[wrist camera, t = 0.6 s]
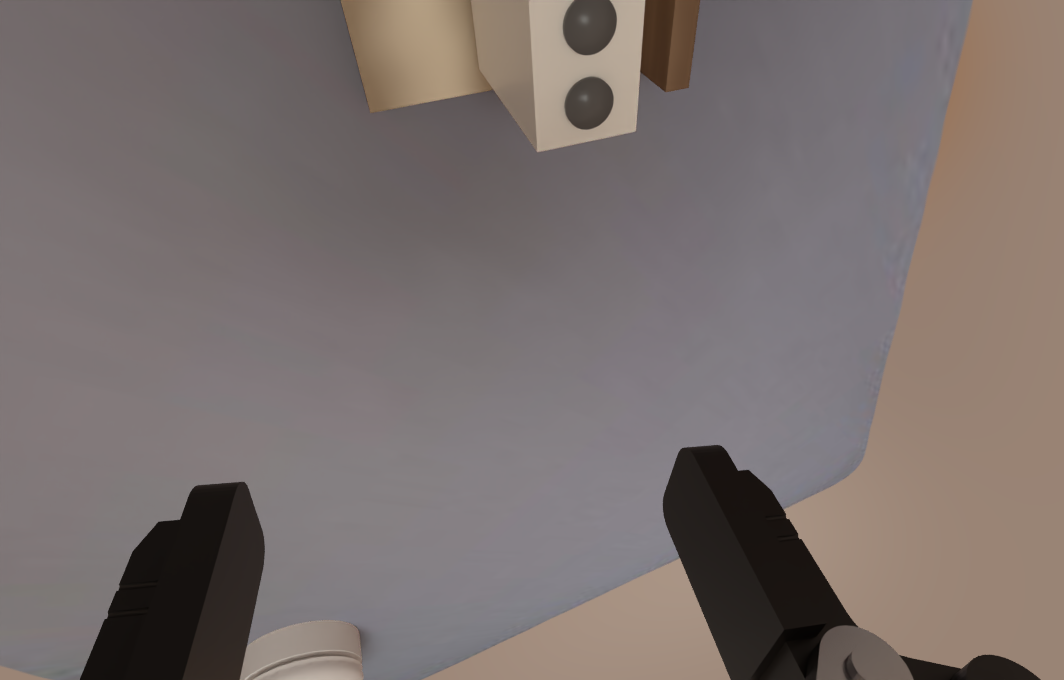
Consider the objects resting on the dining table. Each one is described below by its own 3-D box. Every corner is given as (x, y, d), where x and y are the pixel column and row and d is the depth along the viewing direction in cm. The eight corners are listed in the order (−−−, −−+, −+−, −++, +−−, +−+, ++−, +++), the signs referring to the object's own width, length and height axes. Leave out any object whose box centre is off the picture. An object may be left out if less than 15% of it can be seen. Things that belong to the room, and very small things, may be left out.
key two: (479, 69, 28) (539, 155, 21) (462, -72, 24) (530, -18, 17) (557, 54, 28) (638, 134, 22) (553, -85, 24) (651, -37, 18)
